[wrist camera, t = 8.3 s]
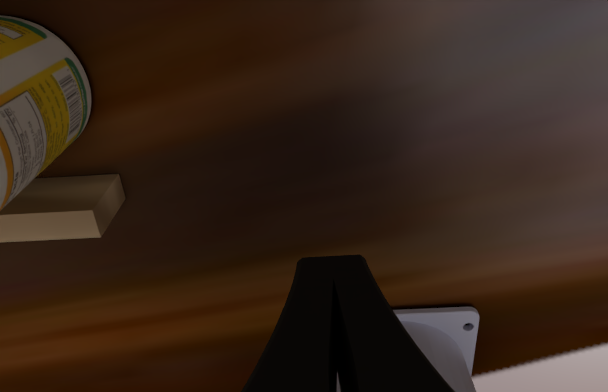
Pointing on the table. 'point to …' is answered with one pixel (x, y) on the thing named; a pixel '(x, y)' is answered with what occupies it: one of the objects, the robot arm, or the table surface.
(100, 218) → the beech corral
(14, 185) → the supplement bottle
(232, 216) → the table surface
